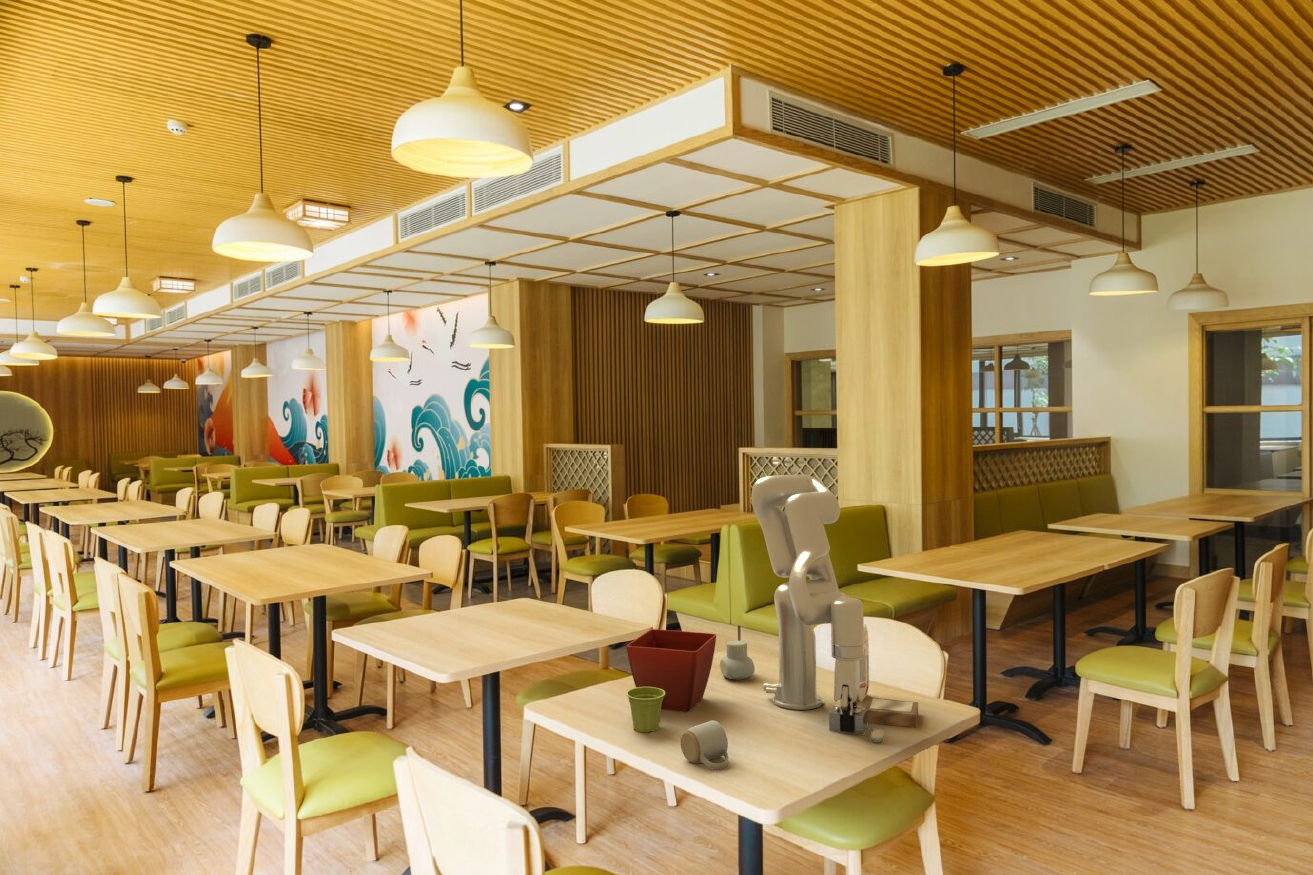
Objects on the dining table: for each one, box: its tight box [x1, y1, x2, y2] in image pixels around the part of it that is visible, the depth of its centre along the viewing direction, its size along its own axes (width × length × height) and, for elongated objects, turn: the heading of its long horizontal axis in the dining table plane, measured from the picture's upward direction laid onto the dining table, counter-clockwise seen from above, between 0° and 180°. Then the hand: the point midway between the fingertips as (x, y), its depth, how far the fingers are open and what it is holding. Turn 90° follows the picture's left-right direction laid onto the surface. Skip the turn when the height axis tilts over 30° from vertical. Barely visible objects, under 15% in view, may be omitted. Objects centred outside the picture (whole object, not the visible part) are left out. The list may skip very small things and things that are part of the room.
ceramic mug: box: [679, 719, 729, 771], centre depth 182 cm, size 11×8×8 cm
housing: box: [828, 705, 868, 736], centre depth 201 cm, size 8×5×5 cm, turn 66°
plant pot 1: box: [626, 687, 665, 733], centre depth 203 cm, size 9×9×9 cm
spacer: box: [869, 727, 884, 745], centre depth 193 cm, size 3×3×2 cm
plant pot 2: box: [626, 628, 717, 713], centre depth 222 cm, size 19×19×17 cm
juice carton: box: [839, 623, 870, 703], centre depth 225 cm, size 8×9×19 cm
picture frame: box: [863, 697, 919, 728], centre depth 208 cm, size 12×10×3 cm
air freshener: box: [719, 640, 755, 680], centre depth 245 cm, size 11×8×10 cm
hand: (848, 726), depth 201 cm, fingers closed on housing, 5 cm apart
